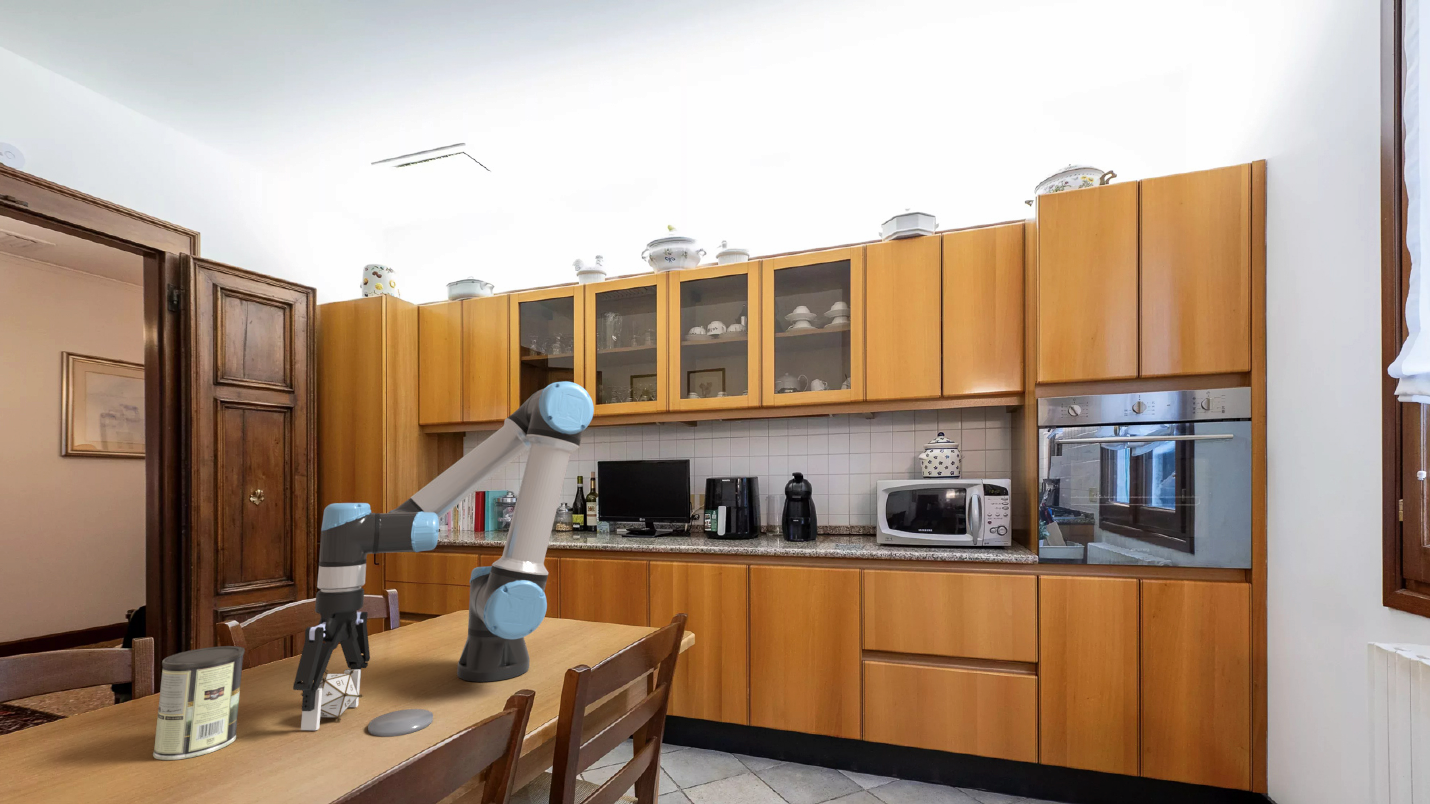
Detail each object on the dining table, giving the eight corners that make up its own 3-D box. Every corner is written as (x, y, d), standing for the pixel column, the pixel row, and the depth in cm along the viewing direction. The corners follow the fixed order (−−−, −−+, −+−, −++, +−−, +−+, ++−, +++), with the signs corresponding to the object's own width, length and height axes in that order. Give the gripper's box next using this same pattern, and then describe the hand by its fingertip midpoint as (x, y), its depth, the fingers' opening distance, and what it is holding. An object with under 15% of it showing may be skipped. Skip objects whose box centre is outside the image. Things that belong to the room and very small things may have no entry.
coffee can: (196, 731, 103) (205, 644, 104) (252, 734, 102) (260, 646, 103) (132, 759, 92) (143, 662, 94) (194, 762, 91) (204, 664, 93)
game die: (326, 745, 106) (306, 710, 101) (305, 717, 110) (285, 682, 105) (377, 706, 112) (360, 671, 107) (355, 682, 117) (338, 647, 112)
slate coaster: (443, 714, 110) (443, 709, 110) (413, 737, 100) (414, 731, 101) (389, 713, 111) (390, 708, 111) (355, 735, 101) (355, 730, 101)
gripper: (359, 578, 122) (350, 694, 120) (274, 600, 100) (261, 743, 97) (395, 578, 122) (387, 695, 119) (318, 600, 100) (306, 744, 97)
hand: (330, 717), depth 108 cm, fingers closed on game die, 10 cm apart
